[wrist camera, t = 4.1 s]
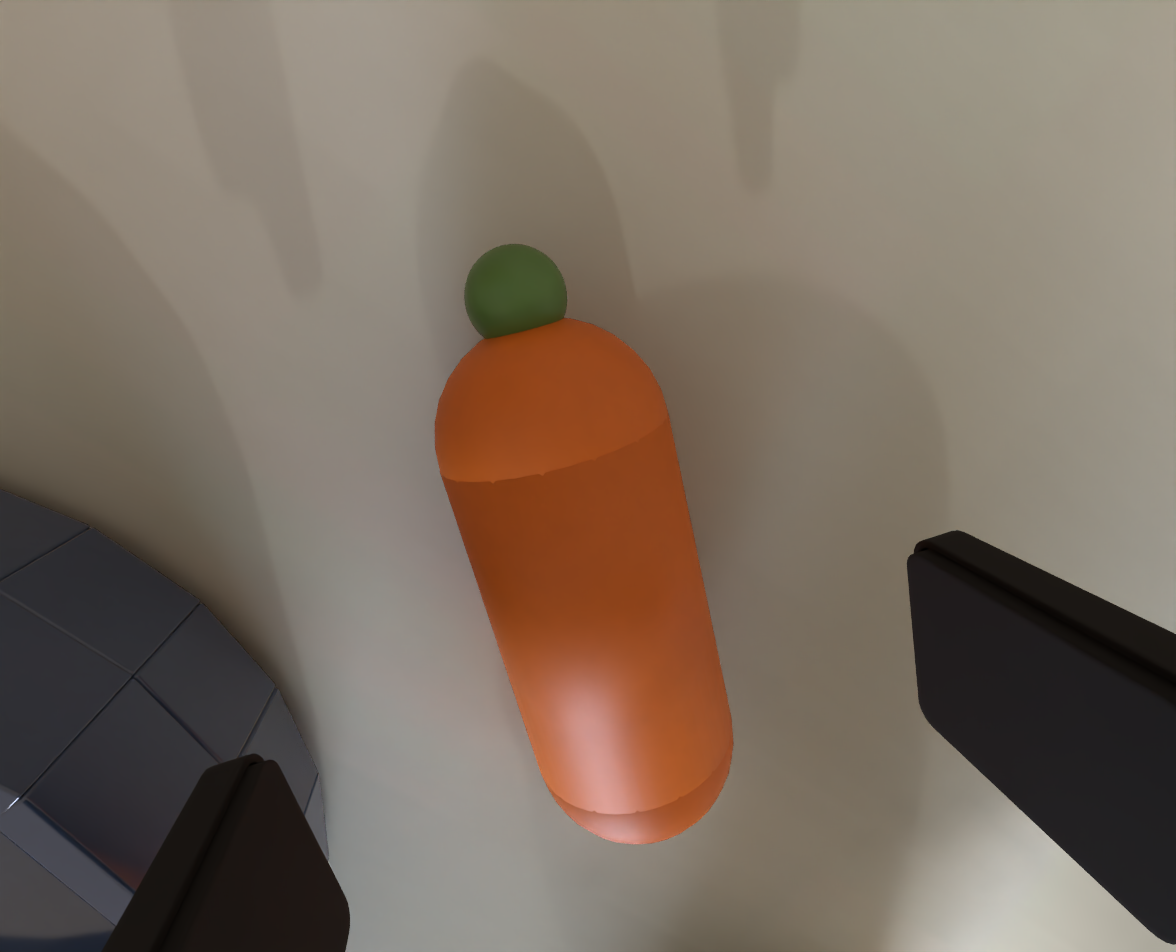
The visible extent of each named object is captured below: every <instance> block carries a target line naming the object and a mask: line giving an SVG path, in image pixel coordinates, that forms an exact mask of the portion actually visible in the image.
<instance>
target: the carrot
mask: <svg viewBox="0 0 1176 952" xmlns="http://www.w3.org/2000/svg"><path fill="white" fill-rule="evenodd" d="M464 299H465V306H466V311H467V314H468V316H469V319H470V321H471V323H472V324H473V326H474V327H475V329H476V330H477V331H478V332H479V333H480V335H482V336H483V337H484V338H485V339H483V340H481V341H480V342H479V343H478V344H477V345H476V346H475V347H474V348H473V349H471V350H470V351H469V352H468V353H467V354H466V355H465V356H464V357H463V358H462V359H461V361H460V362H459V364H458V365H457V366H456V368H455V369H454V371H453V372H452V374H451V375H450V377H449V378H448V380H447V383H446V385H445V387H444V390H443V392H442V395H441V397H440V399H439V404H438V409H437V414H436V419H435V450H436V455H437V459H438V464H439V468H440V474H441V477H442V480H443V483H444V486H445V488H446V491H447V494H448V497H449V500H450V503H451V506H452V509H453V512H454V515H455V518H456V521H457V524H458V527H459V530H460V533H461V536H462V539H463V542H464V545H465V548H466V551H467V554H468V557H469V560H470V563H471V566H472V569H473V572H474V575H475V578H476V581H477V584H478V587H479V590H480V593H481V596H482V599H483V602H484V605H485V608H486V611H487V614H488V617H489V620H490V623H491V626H492V629H493V632H494V635H495V638H496V640H497V643H498V646H499V649H500V652H501V655H502V658H503V661H504V664H505V667H506V670H507V673H508V676H509V679H510V682H511V685H512V688H513V691H514V694H515V697H516V700H517V703H518V706H519V709H520V712H521V715H522V718H523V721H524V724H525V727H526V730H527V733H528V736H529V739H530V742H531V745H532V748H533V751H534V754H535V757H536V760H537V763H538V766H539V769H540V771H541V774H542V776H543V779H544V781H545V783H546V785H547V787H548V789H549V791H550V792H551V794H552V796H553V797H554V799H555V801H556V802H557V803H558V805H559V806H560V807H561V808H562V809H563V810H564V811H565V813H566V814H567V815H568V816H569V817H571V818H572V819H573V820H574V821H575V822H576V823H577V824H578V825H580V826H582V827H583V828H585V829H587V830H589V831H590V832H592V833H594V834H595V835H597V836H599V837H601V838H604V839H607V840H610V841H613V842H617V843H626V844H649V843H655V842H659V841H663V840H667V839H669V838H671V837H673V836H676V835H678V834H680V833H681V832H683V831H684V830H686V829H687V828H689V827H690V826H692V825H693V824H695V823H696V822H698V821H699V820H700V819H701V818H702V817H703V816H704V815H705V814H706V813H707V812H708V811H709V809H710V808H711V807H712V805H713V804H714V802H715V801H716V799H717V798H718V796H719V794H720V792H721V790H722V788H723V786H724V784H725V781H726V779H727V776H728V774H729V769H730V764H731V758H732V751H733V744H734V743H733V731H732V719H731V713H730V708H729V704H728V699H727V694H726V689H725V684H724V680H723V675H722V670H721V665H720V660H719V655H718V651H717V646H716V641H715V636H714V631H713V626H712V622H711V617H710V612H709V607H708V602H707V597H706V593H705V588H704V583H703V578H702V573H701V568H700V564H699V559H698V554H697V549H696V544H695V540H694V535H693V530H692V525H691V520H690V515H689V511H688V506H687V501H686V496H685V491H684V486H683V482H682V477H681V472H680V467H679V462H678V457H677V453H676V448H675V443H674V438H673V433H672V428H671V424H670V419H669V414H668V410H667V407H666V404H665V400H664V397H663V394H662V391H661V388H660V386H659V385H658V383H657V381H656V379H655V377H654V376H653V374H652V372H651V370H650V368H649V367H648V366H647V365H646V364H645V363H644V361H643V360H642V359H641V358H640V357H639V356H638V354H637V353H636V352H635V351H634V350H633V349H632V348H630V347H629V346H628V345H626V344H625V343H624V342H623V341H621V340H620V339H619V338H617V337H616V336H615V335H613V334H612V333H609V332H607V331H605V330H603V329H601V328H599V327H597V326H595V325H593V324H590V323H586V322H582V321H578V320H574V319H571V318H564V315H565V311H566V306H567V291H566V286H565V282H564V279H563V277H562V275H561V273H560V271H559V269H558V268H557V266H556V265H555V264H554V262H553V261H552V260H551V259H550V258H549V257H548V256H546V255H545V254H544V253H542V252H541V251H539V250H537V249H535V248H532V247H530V246H526V245H521V244H508V245H502V246H499V247H496V248H494V249H492V250H490V251H488V252H487V253H485V254H484V255H483V256H481V257H480V258H479V259H478V260H477V262H476V263H475V264H474V265H473V267H472V269H471V270H470V272H469V275H468V277H467V280H466V284H465V290H464Z"/></svg>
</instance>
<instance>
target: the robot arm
mask: <svg viewBox="0 0 1176 952" xmlns="http://www.w3.org/2000/svg"><path fill="white" fill-rule="evenodd" d="M907 571H908V583H909V594H910V606H911V618H912V629H913V641H914V652H915V664H916V676H917V687H918V699H919V704H920V707H921V710H922V712H923V714H924V716H925V718H926V719H927V721H928V722H929V723H930V724H931V726H932V727H933V728H934V729H935V730H936V731H937V732H939V733H940V734H941V735H942V736H943V737H944V738H945V739H946V740H947V741H948V742H949V743H950V744H951V745H952V746H953V747H954V748H956V749H957V750H958V751H959V752H960V753H961V754H962V755H963V756H964V757H965V758H966V759H967V760H968V761H969V762H970V763H971V764H973V765H974V766H975V767H976V768H977V769H978V770H979V771H980V772H981V773H982V774H983V775H984V776H985V777H986V778H987V779H989V780H990V781H991V782H992V783H993V784H994V785H995V786H996V787H997V788H998V789H999V790H1000V791H1001V792H1002V793H1003V794H1004V795H1006V796H1007V797H1008V798H1009V799H1010V800H1011V801H1012V802H1013V803H1014V804H1015V805H1016V806H1017V807H1018V808H1019V809H1020V810H1021V811H1023V812H1024V813H1025V814H1026V815H1027V816H1028V817H1029V818H1030V819H1031V820H1032V821H1033V822H1034V823H1035V824H1036V825H1037V826H1039V827H1040V828H1041V829H1042V830H1043V831H1044V832H1045V833H1046V834H1047V835H1048V836H1049V837H1050V838H1051V839H1052V840H1053V841H1054V842H1056V843H1057V844H1058V845H1059V846H1060V847H1061V848H1062V849H1063V850H1064V851H1065V852H1066V853H1067V854H1068V855H1069V856H1070V857H1071V858H1073V859H1074V860H1075V861H1076V862H1077V863H1078V864H1079V865H1080V866H1081V867H1082V868H1083V869H1084V870H1085V871H1086V872H1087V873H1089V874H1090V875H1091V876H1092V877H1093V878H1094V879H1095V880H1096V881H1097V882H1098V883H1099V884H1100V885H1101V886H1102V887H1103V888H1104V889H1106V890H1107V891H1108V892H1109V893H1110V894H1111V895H1112V896H1113V897H1114V898H1115V899H1116V900H1117V901H1118V902H1119V903H1120V904H1121V905H1123V906H1124V907H1125V908H1126V909H1127V910H1128V911H1129V912H1130V913H1131V914H1132V915H1133V916H1134V917H1135V918H1136V919H1137V920H1139V921H1140V922H1141V923H1142V924H1143V925H1144V926H1145V927H1146V928H1147V929H1148V930H1149V931H1150V932H1152V933H1153V934H1154V935H1155V936H1157V937H1158V938H1160V939H1161V940H1163V941H1165V942H1166V943H1170V944H1176V634H1174V633H1172V632H1170V631H1168V630H1166V629H1164V628H1162V627H1160V626H1158V625H1156V624H1154V623H1151V622H1149V621H1147V620H1145V619H1143V618H1141V617H1139V616H1137V615H1135V614H1133V613H1131V612H1129V611H1127V610H1124V609H1122V608H1120V607H1118V606H1116V605H1114V604H1112V603H1110V602H1108V601H1106V600H1104V599H1102V598H1100V597H1098V596H1095V595H1093V594H1091V593H1089V592H1087V591H1085V590H1083V589H1081V588H1079V587H1077V586H1075V585H1073V584H1071V583H1068V582H1066V581H1064V580H1062V579H1060V578H1058V577H1056V576H1054V575H1052V574H1050V573H1048V572H1046V571H1044V570H1042V569H1039V568H1037V567H1035V566H1033V565H1031V564H1029V563H1027V562H1025V561H1023V560H1021V559H1019V558H1017V557H1015V556H1013V555H1010V554H1008V553H1006V552H1004V551H1002V550H1000V549H998V548H996V547H994V546H992V545H990V544H988V543H986V542H983V541H981V540H979V539H977V538H975V537H973V536H971V535H969V534H967V533H965V532H962V531H958V530H956V531H951V532H948V533H944V534H941V535H938V536H935V537H932V538H929V539H925V540H922V541H920V542H918V543H917V544H916V546H915V549H914V554H911V555H910V556H909V557H908V560H907ZM349 928H350V913H349V907H348V902H347V900H346V897H345V895H344V893H343V891H342V889H341V887H340V885H339V883H338V881H337V879H336V877H335V875H334V873H333V871H332V869H331V867H330V865H329V863H328V861H327V859H326V857H325V855H324V853H323V851H322V849H321V848H320V846H319V844H318V842H317V840H316V838H315V836H314V834H313V832H312V830H311V828H310V826H309V824H308V822H307V820H306V818H305V816H304V814H303V812H302V810H301V808H300V806H299V804H298V802H297V800H296V798H295V796H294V794H293V792H292V790H291V788H290V786H289V784H288V782H287V780H286V778H285V776H284V774H283V772H282V770H281V768H280V767H279V765H278V764H277V762H275V761H274V760H270V759H269V760H266V761H264V759H263V758H262V757H261V756H260V755H258V754H254V753H252V754H249V755H245V756H242V757H239V758H236V759H233V760H230V761H227V762H223V763H220V764H217V765H214V766H211V767H209V768H208V769H206V770H205V772H204V773H203V774H202V775H201V777H200V779H199V781H198V782H197V784H196V786H195V788H194V789H193V791H192V793H191V795H190V797H189V798H188V800H187V802H186V804H185V805H184V807H183V809H182V811H181V812H180V814H179V816H178V818H177V819H176V821H175V823H174V825H173V826H172V828H171V830H170V832H169V834H168V835H167V837H166V839H165V841H164V842H163V844H162V846H161V848H160V849H159V851H158V853H157V855H156V856H155V858H154V860H153V862H152V863H151V865H150V867H149V869H148V871H147V872H146V874H145V876H144V878H143V879H142V881H141V883H140V885H139V886H138V888H137V890H136V892H135V893H134V895H133V897H132V899H131V900H130V902H129V904H128V906H127V907H126V909H125V911H124V913H123V915H122V916H121V918H120V920H119V922H118V923H117V925H116V927H115V929H114V930H113V932H112V934H111V936H110V937H109V939H108V941H107V943H106V944H105V946H104V948H103V950H102V952H345V950H346V945H347V940H348V935H349Z"/></svg>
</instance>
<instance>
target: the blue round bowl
mask: <svg viewBox="0 0 1176 952" xmlns="http://www.w3.org/2000/svg"><path fill="white" fill-rule="evenodd" d="M252 753H254V754H258V755H260V756H261V757H262V758H263V759H264V761H266V760H269V759H270V760H274V761H275V762H277V764H278V765H279V767H280V768H281V770H282V772H283V774H284V776H285V778H286V780H287V782H288V784H289V786H290V788H291V790H292V792H293V794H294V796H295V798H296V800H297V802H298V804H299V806H300V808H301V810H302V812H303V814H304V816H305V818H306V820H307V822H308V824H309V826H310V828H311V830H312V832H313V834H314V836H315V838H316V840H317V842H318V844H319V846H320V848H321V849H322V851H323V853H324V855H325V857H326V859H327V861H328V860H329V852H328V844H327V835H326V827H325V819H324V811H323V802H322V794H321V786H320V777H319V773H317V769H316V766H315V764H314V762H313V760H312V758H311V756H310V754H309V752H308V750H307V748H306V746H305V743H304V741H303V739H302V737H301V735H300V733H299V731H298V729H297V727H296V725H295V723H294V720H293V718H292V716H291V714H290V712H289V710H288V708H287V706H286V704H285V702H284V699H283V697H282V695H281V693H280V691H279V689H278V688H277V687H276V685H275V683H274V682H273V681H272V680H271V679H270V677H269V676H268V675H267V674H266V673H265V672H264V671H263V670H262V668H261V667H260V666H259V665H258V664H257V663H256V662H255V661H254V659H253V658H252V657H251V656H250V655H249V654H248V653H247V652H246V651H245V649H244V648H243V647H242V646H241V645H240V644H239V643H238V642H237V640H236V639H235V638H234V637H233V636H232V635H231V634H230V633H229V632H228V630H227V629H226V628H225V627H224V626H223V625H222V624H221V623H220V621H219V620H218V619H217V618H216V617H215V616H214V615H213V614H212V613H211V611H210V610H209V609H208V608H207V607H206V606H205V605H204V604H203V603H201V604H200V600H199V599H198V598H196V597H195V596H193V595H192V594H190V593H189V592H187V591H186V590H185V589H183V588H182V587H180V586H179V585H177V584H176V583H174V582H173V581H171V580H170V579H168V578H167V577H166V576H164V575H163V574H161V573H160V572H158V571H157V570H155V569H154V568H152V567H151V566H149V565H148V564H147V563H145V562H144V561H142V560H141V559H139V558H138V557H136V556H135V555H133V554H132V553H130V552H129V551H128V550H126V549H125V548H123V547H122V546H120V545H119V544H117V543H116V542H114V541H113V540H111V539H110V538H109V537H107V536H106V535H104V534H103V533H101V532H100V531H98V530H97V529H95V528H93V527H91V528H90V526H89V525H88V524H85V523H83V522H80V521H78V520H75V519H73V518H70V517H68V516H66V515H63V514H61V513H58V512H56V511H53V510H51V509H48V508H46V507H44V506H41V505H39V504H36V503H34V502H31V501H29V500H26V499H24V498H22V497H19V496H17V495H14V494H12V493H9V492H7V491H4V490H2V489H0V952H102V950H103V948H104V946H105V944H106V943H107V941H108V939H109V937H110V936H111V934H112V932H113V930H114V929H115V927H116V925H117V923H118V922H119V920H120V918H121V916H122V915H123V913H124V911H125V909H126V907H127V906H128V904H129V902H130V900H131V899H132V897H133V895H134V893H135V892H136V890H137V888H138V886H139V885H140V883H141V881H142V879H143V878H144V876H145V874H146V872H147V871H148V869H149V867H150V865H151V863H152V862H153V860H154V858H155V856H156V855H157V853H158V851H159V849H160V848H161V846H162V844H163V842H164V841H165V839H166V837H167V835H168V834H169V832H170V830H171V828H172V826H173V825H174V823H175V821H176V819H177V818H178V816H179V814H180V812H181V811H182V809H183V807H184V805H185V804H186V802H187V800H188V798H189V797H190V795H191V793H192V791H193V789H194V788H195V786H196V784H197V782H198V781H199V779H200V777H201V775H202V774H203V773H204V772H205V770H206V769H208V768H209V767H211V766H214V765H217V764H220V763H223V762H227V761H230V760H233V759H236V758H239V757H242V756H245V755H249V754H252Z"/></svg>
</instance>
